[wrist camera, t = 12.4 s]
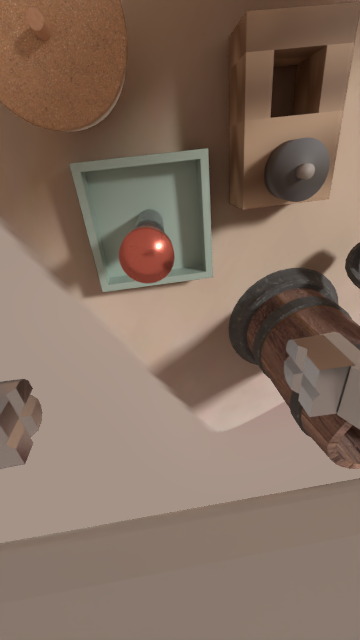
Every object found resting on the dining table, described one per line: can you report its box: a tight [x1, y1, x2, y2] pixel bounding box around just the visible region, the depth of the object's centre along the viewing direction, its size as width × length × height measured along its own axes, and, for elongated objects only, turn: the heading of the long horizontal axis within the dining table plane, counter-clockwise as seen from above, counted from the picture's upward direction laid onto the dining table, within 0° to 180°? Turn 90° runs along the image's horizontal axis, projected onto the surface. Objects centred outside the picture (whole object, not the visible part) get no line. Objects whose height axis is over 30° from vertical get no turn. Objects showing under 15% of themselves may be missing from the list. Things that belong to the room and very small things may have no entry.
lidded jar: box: [0, 0, 127, 131], centre depth 21 cm, size 11×11×9 cm
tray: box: [69, 148, 213, 292], centre depth 31 cm, size 13×13×3 cm
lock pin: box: [119, 209, 175, 283], centre depth 26 cm, size 4×4×13 cm
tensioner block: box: [229, 2, 360, 210], centre depth 25 cm, size 14×9×8 cm, turn 6°
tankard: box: [229, 243, 360, 469], centre depth 31 cm, size 24×17×20 cm
